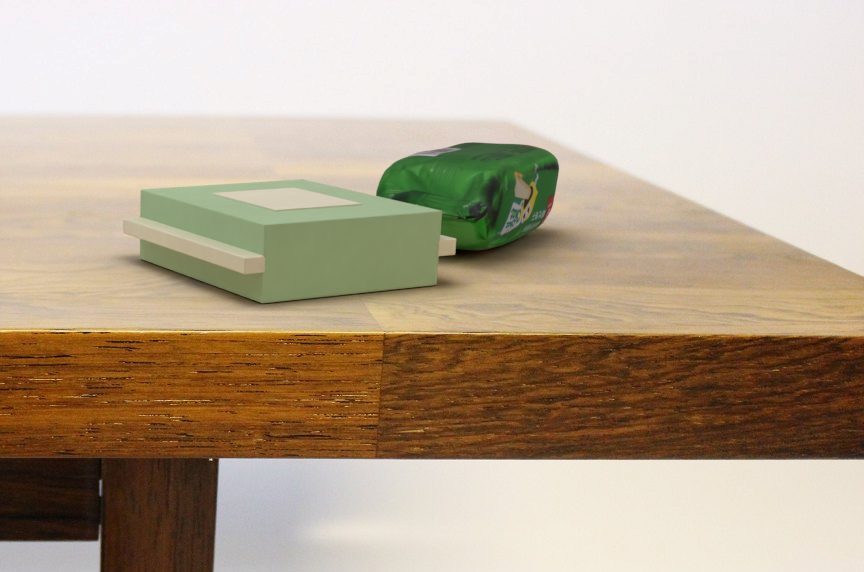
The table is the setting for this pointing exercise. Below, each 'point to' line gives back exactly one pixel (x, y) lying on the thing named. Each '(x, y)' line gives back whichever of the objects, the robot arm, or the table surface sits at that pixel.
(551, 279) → the table surface
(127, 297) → the table surface
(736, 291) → the table surface
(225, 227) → the green block with rails
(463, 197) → the snack package
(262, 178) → the table surface
